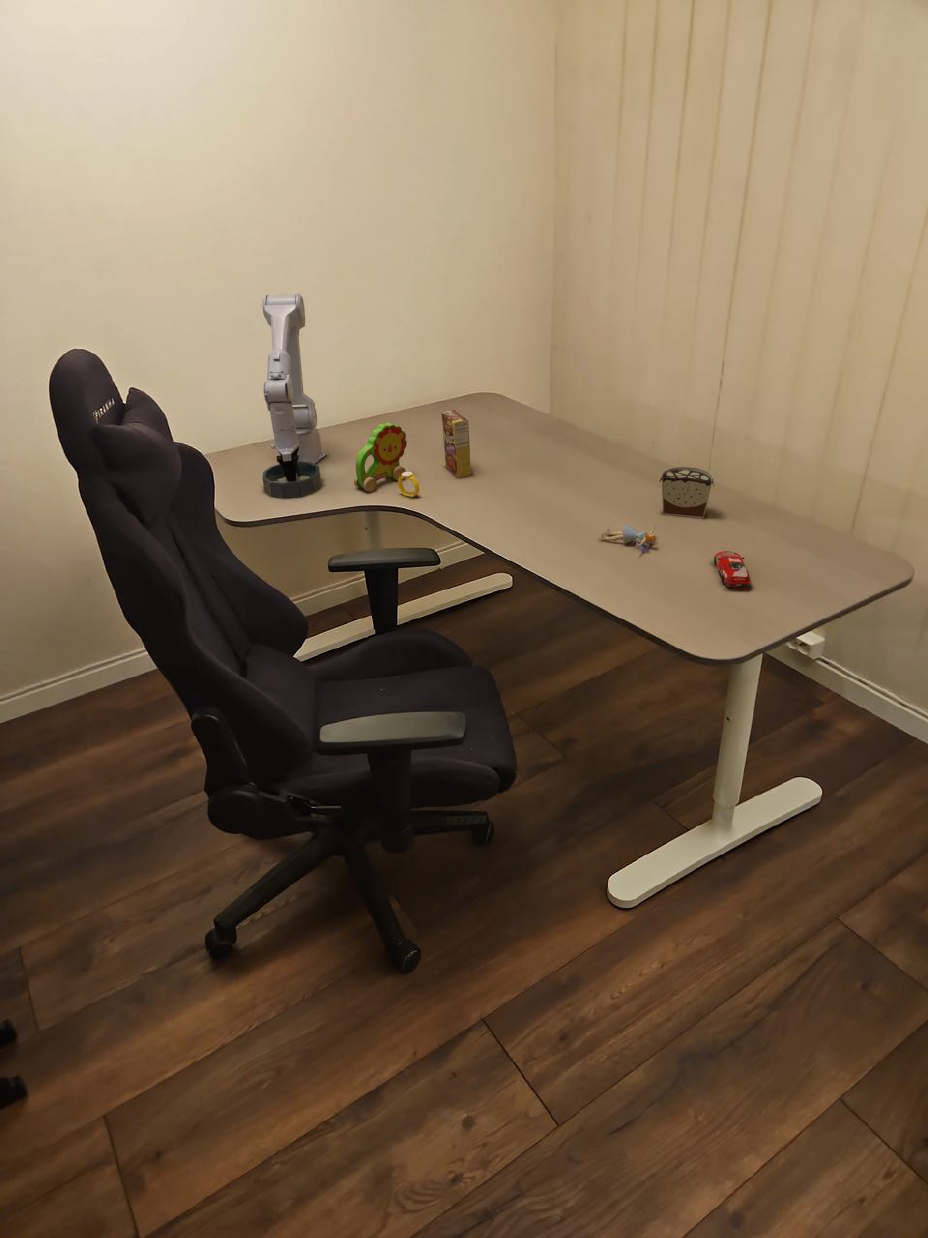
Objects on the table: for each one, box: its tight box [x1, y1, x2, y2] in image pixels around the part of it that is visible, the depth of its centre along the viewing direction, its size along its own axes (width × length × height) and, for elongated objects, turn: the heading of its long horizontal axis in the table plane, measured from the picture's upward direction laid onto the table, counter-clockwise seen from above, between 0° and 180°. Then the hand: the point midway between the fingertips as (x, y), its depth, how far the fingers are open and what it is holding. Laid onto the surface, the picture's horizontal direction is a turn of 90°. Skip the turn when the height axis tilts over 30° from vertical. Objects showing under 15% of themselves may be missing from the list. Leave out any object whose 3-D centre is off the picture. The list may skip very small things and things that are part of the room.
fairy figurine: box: [600, 524, 657, 553], centre depth 195 cm, size 12×5×12 cm
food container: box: [659, 466, 715, 519], centre depth 206 cm, size 12×6×10 cm, turn 71°
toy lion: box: [353, 422, 408, 493], centre depth 227 cm, size 16×6×15 cm, turn 135°
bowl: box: [261, 461, 322, 499], centre depth 230 cm, size 15×15×4 cm
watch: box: [397, 471, 420, 498], centre depth 221 cm, size 6×3×6 cm, turn 53°
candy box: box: [441, 409, 472, 479], centre depth 231 cm, size 9×4×15 cm, turn 23°
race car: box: [713, 550, 751, 588], centre depth 181 cm, size 13×5×4 cm, turn 177°
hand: (291, 477), depth 230 cm, fingers open, 4 cm apart
